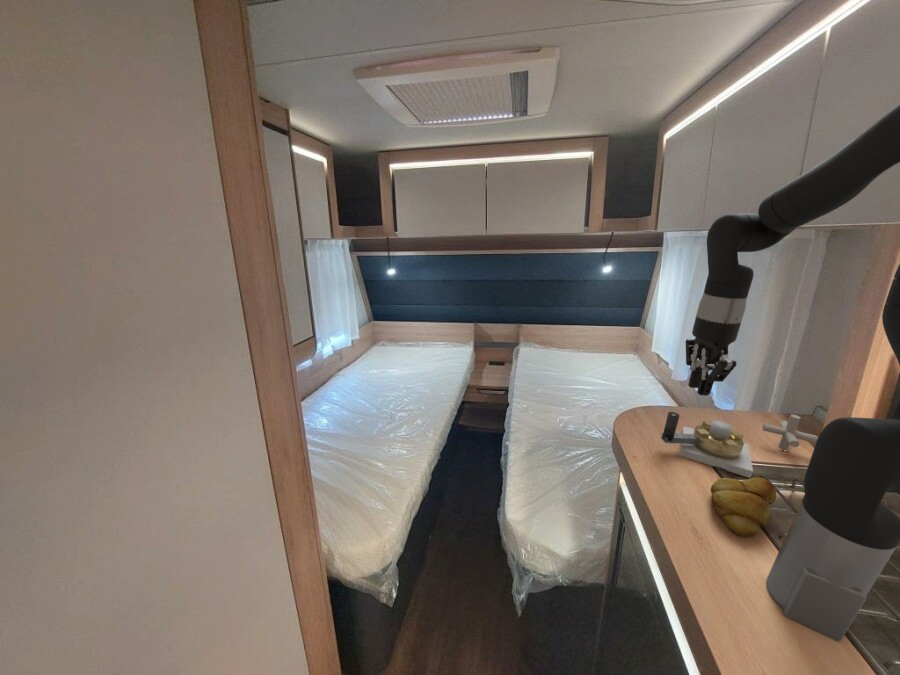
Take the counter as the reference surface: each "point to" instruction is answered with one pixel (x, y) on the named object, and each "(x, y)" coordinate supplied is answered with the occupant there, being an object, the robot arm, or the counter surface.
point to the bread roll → (743, 503)
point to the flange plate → (737, 465)
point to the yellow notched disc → (704, 439)
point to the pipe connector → (789, 433)
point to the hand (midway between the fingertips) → (698, 390)
